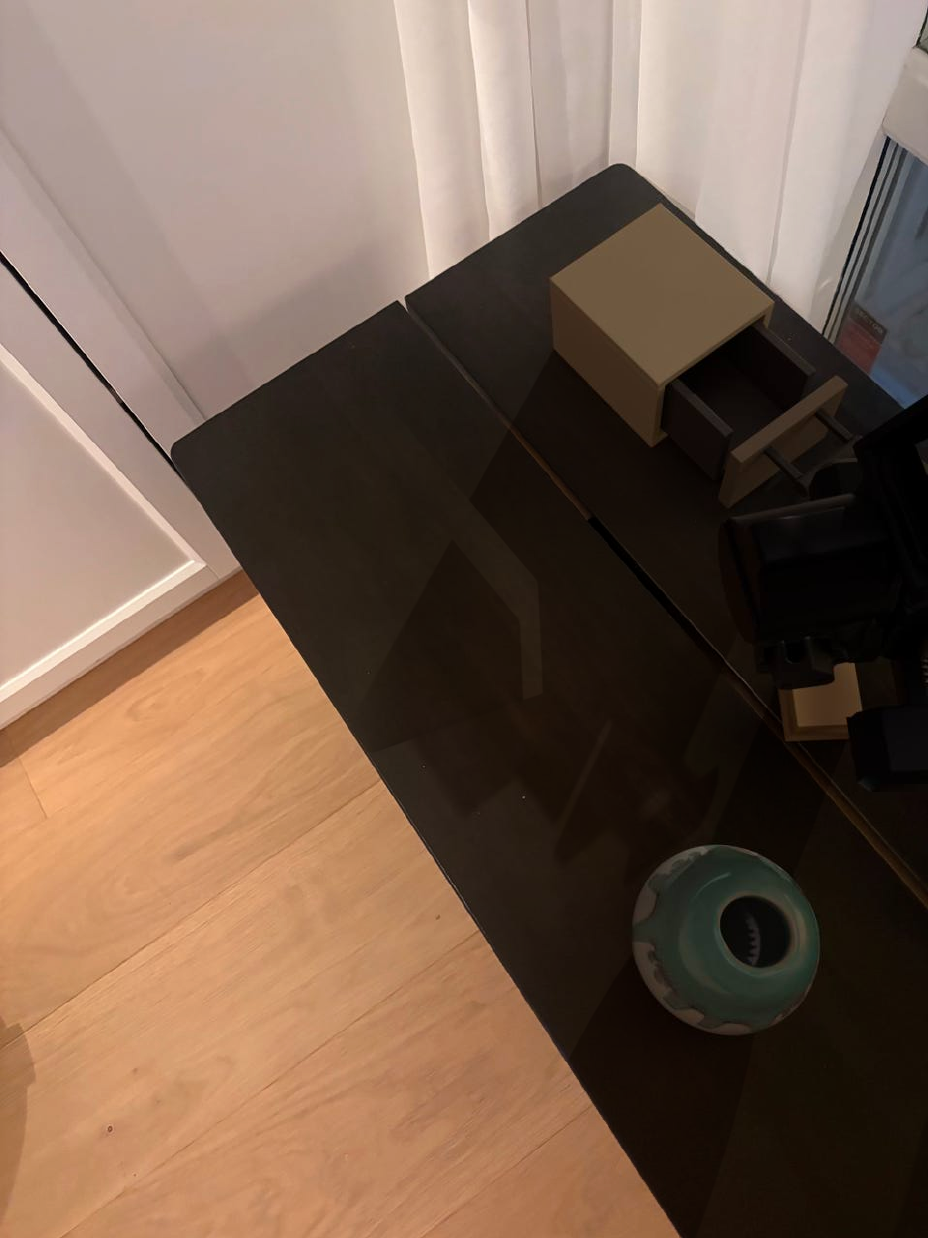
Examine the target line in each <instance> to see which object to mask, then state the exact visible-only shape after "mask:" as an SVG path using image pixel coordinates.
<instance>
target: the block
mask: <svg viewBox="0 0 928 1238" xmlns="http://www.w3.org/2000/svg"><path fill="white" fill-rule="evenodd" d="M834 675H835V680H834V682H832V683H830V684H828V685H823V686H815V687H808V688H800V689H793V690H780V689H778V688H777V693H778V699H779V700H778V701H779V708H780V715H781V722H782V728H783V735H784V741H785V742H801V741H802V742H803V741H805V742H806V741H823V740H824V741H825V740H848V739H849V733H848V727H847V721H846V717H852V716H853V715H854V714H855V713H856V712H859V711H863V706H862V701H861V694H860V687H859V683H858V678H857V677H858V676H857V672H856V666H855V663H848V662H846V663H842V664H838V665H836V666H835V667H834Z"/></svg>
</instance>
